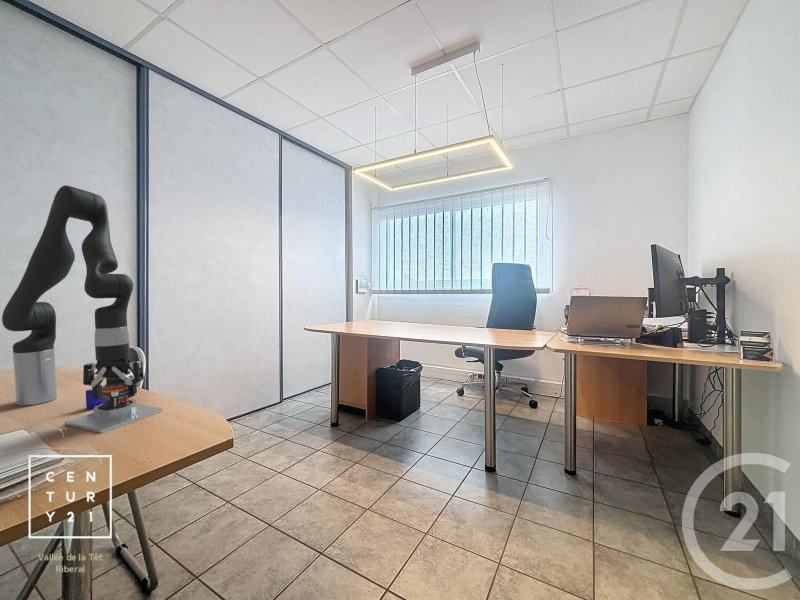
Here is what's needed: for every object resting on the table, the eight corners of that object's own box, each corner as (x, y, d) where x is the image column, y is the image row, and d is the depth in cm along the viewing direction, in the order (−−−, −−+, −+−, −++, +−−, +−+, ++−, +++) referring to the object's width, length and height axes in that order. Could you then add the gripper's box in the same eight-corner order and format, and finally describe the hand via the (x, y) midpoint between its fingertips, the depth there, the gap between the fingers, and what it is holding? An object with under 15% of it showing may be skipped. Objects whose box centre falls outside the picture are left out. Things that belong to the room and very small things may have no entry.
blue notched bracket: (118, 396, 117) (117, 379, 117) (130, 396, 117) (129, 379, 116) (82, 409, 105) (81, 390, 105) (94, 409, 105) (93, 391, 104)
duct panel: (65, 424, 93) (64, 411, 93) (128, 404, 108) (127, 393, 108) (101, 433, 88) (100, 418, 88) (162, 411, 103) (162, 398, 103)
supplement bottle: (122, 417, 96) (120, 378, 95) (98, 419, 94) (95, 380, 94) (134, 410, 101) (132, 373, 101) (111, 411, 100) (109, 374, 100)
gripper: (147, 339, 102) (149, 392, 103) (93, 341, 99) (96, 395, 100) (132, 344, 94) (134, 400, 95) (73, 346, 92) (77, 403, 93)
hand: (115, 397), depth 98 cm, fingers open, 8 cm apart
